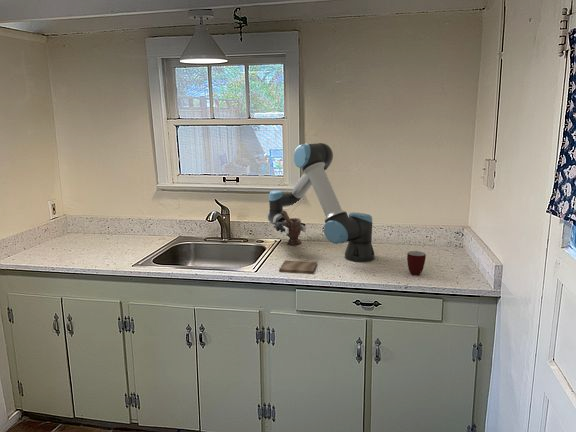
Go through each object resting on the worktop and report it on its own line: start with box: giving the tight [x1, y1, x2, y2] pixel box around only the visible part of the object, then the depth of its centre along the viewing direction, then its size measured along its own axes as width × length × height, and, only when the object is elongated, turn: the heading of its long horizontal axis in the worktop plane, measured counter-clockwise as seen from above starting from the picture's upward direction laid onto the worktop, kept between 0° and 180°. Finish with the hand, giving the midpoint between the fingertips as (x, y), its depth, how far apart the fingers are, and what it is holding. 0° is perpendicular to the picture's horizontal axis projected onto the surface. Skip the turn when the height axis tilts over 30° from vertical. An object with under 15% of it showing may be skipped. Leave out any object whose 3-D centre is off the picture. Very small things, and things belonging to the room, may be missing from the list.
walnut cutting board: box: [278, 259, 318, 275], centre depth 229 cm, size 16×14×1 cm
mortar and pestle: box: [281, 210, 302, 247], centre depth 246 cm, size 12×9×20 cm
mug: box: [406, 250, 427, 276], centre depth 220 cm, size 11×8×10 cm
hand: (296, 230), depth 243 cm, fingers closed on mortar and pestle, 8 cm apart
